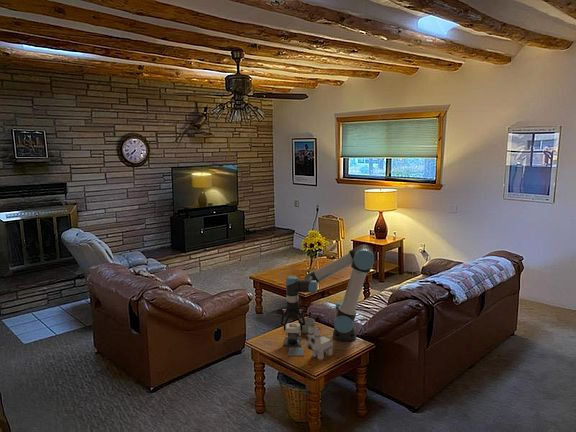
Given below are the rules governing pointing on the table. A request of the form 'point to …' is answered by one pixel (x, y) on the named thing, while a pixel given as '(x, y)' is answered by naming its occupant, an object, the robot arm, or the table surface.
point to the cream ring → (292, 328)
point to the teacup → (307, 324)
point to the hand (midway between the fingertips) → (293, 335)
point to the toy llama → (318, 343)
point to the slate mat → (296, 351)
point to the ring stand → (293, 340)
